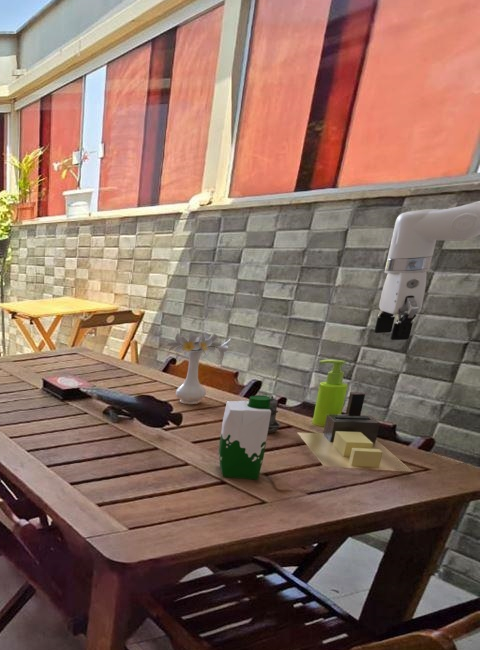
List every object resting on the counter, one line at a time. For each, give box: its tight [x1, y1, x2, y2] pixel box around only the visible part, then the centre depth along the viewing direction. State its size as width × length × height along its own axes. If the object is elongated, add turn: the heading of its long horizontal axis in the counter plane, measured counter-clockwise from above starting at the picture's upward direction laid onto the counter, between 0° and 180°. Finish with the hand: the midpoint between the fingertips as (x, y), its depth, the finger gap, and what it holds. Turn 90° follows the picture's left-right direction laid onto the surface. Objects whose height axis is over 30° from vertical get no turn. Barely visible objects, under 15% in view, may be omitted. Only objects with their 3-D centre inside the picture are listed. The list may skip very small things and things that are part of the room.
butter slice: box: [349, 448, 383, 467], centre depth 118 cm, size 5×2×4 cm, turn 64°
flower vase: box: [167, 331, 232, 405], centre depth 173 cm, size 13×18×25 cm
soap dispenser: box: [311, 358, 349, 428], centre depth 141 cm, size 6×7×20 cm
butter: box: [333, 431, 373, 457], centre depth 125 cm, size 5×8×4 cm, turn 154°
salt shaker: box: [268, 395, 281, 434], centre depth 141 cm, size 6×6×12 cm
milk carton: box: [218, 394, 271, 481], centre depth 121 cm, size 9×9×20 cm
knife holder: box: [322, 414, 381, 444], centre depth 131 cm, size 9×6×6 cm, turn 64°
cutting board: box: [297, 432, 414, 473], centre depth 127 cm, size 16×24×1 cm, turn 154°
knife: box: [337, 391, 369, 420], centre depth 130 cm, size 6×2×13 cm, turn 64°
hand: (390, 335), depth 124 cm, fingers open, 9 cm apart
